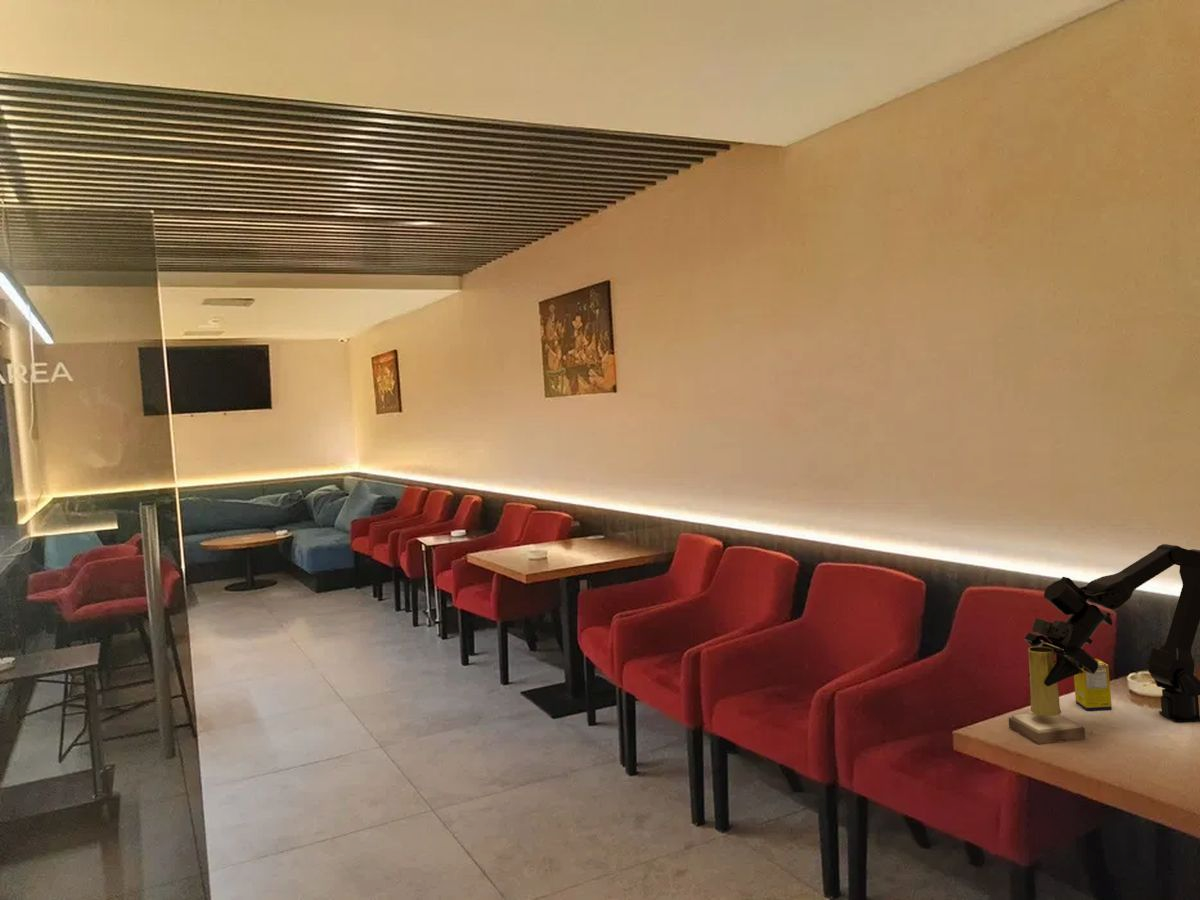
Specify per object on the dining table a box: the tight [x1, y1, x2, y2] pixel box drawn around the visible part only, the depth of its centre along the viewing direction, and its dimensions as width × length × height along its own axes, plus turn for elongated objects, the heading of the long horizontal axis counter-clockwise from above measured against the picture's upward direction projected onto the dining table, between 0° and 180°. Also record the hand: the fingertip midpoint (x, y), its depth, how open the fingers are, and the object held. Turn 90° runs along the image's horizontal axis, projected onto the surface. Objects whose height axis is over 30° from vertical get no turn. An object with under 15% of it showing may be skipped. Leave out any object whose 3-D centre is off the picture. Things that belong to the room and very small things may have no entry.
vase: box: [1027, 646, 1062, 716], centre depth 192 cm, size 6×6×14 cm
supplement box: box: [1073, 658, 1113, 712], centre depth 206 cm, size 6×6×11 cm
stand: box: [1008, 712, 1086, 745], centre depth 192 cm, size 11×11×3 cm
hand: (1037, 681), depth 191 cm, fingers closed on vase, 5 cm apart
